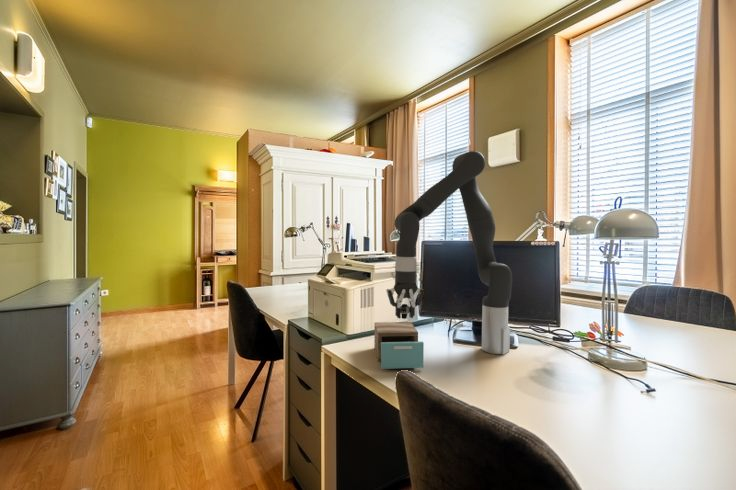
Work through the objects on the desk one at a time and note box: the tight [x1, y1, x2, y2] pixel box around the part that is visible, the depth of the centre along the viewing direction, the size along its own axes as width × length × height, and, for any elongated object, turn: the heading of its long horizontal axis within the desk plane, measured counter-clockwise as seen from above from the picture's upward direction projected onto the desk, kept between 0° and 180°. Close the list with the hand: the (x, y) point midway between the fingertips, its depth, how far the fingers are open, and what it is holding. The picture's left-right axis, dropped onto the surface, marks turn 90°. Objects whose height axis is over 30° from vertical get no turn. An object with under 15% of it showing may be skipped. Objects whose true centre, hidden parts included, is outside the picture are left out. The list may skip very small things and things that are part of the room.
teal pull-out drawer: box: [380, 341, 425, 370], centre depth 122 cm, size 14×14×8 cm
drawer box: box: [373, 321, 419, 362], centre depth 132 cm, size 14×14×10 cm
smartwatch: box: [400, 303, 410, 320], centre depth 127 cm, size 4×5×5 cm
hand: (405, 317), depth 127 cm, fingers closed on smartwatch, 4 cm apart
